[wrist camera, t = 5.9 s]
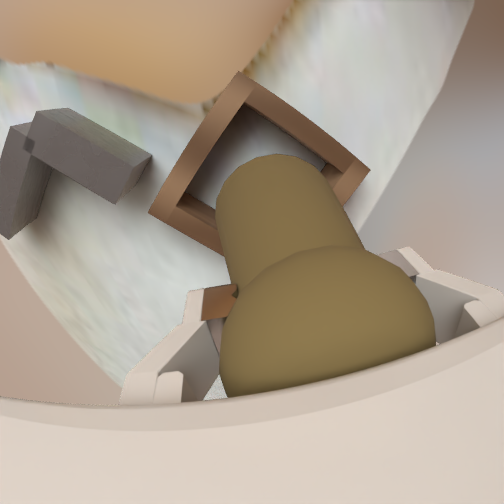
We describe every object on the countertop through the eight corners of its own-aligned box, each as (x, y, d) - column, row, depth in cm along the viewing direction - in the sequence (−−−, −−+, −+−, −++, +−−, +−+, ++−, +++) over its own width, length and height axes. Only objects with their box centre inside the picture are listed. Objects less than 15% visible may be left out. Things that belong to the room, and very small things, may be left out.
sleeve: (236, 77, 20) (238, 70, 17) (350, 159, 24) (370, 170, 20) (159, 196, 24) (147, 212, 21) (271, 262, 28) (278, 286, 24)
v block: (-2, 145, 20) (-34, 156, 16) (134, 81, 20) (112, 76, 15) (22, 223, 24) (-5, 245, 19) (158, 179, 24) (142, 197, 19)
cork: (287, 285, 17) (339, 475, 7) (192, 231, 15) (148, 440, 5) (357, 199, 15) (503, 351, 5) (261, 128, 13) (357, 211, 3)
